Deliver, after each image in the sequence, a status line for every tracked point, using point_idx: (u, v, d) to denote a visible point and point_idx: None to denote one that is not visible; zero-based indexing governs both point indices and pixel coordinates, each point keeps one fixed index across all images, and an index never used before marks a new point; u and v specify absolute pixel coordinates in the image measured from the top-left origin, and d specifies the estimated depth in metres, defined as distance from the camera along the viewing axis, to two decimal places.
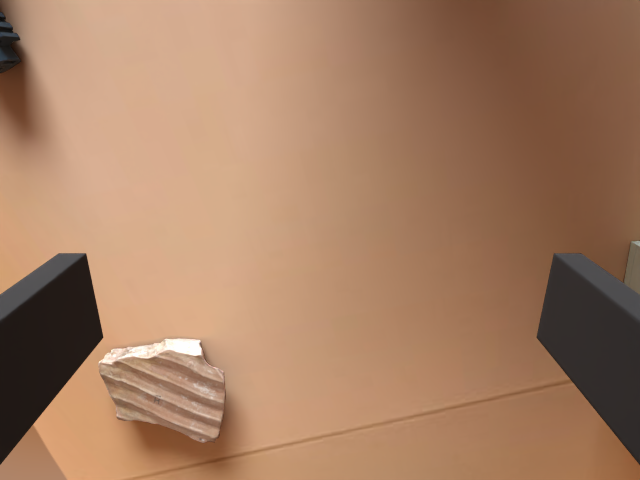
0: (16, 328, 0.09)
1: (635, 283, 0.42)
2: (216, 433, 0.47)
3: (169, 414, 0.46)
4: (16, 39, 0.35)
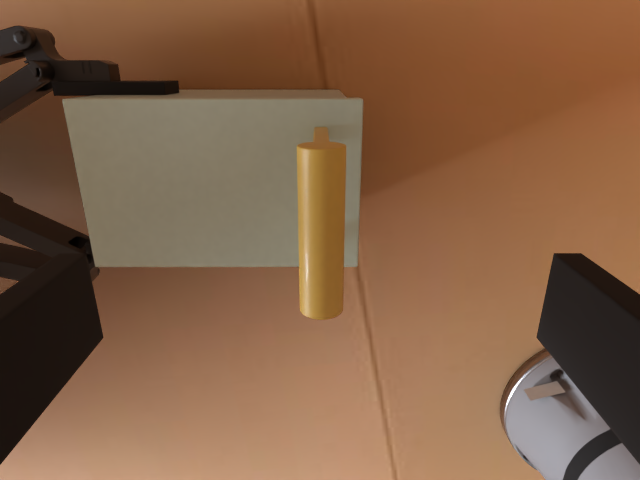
0: (16, 328, 0.09)
1: None
2: None
3: None
4: None
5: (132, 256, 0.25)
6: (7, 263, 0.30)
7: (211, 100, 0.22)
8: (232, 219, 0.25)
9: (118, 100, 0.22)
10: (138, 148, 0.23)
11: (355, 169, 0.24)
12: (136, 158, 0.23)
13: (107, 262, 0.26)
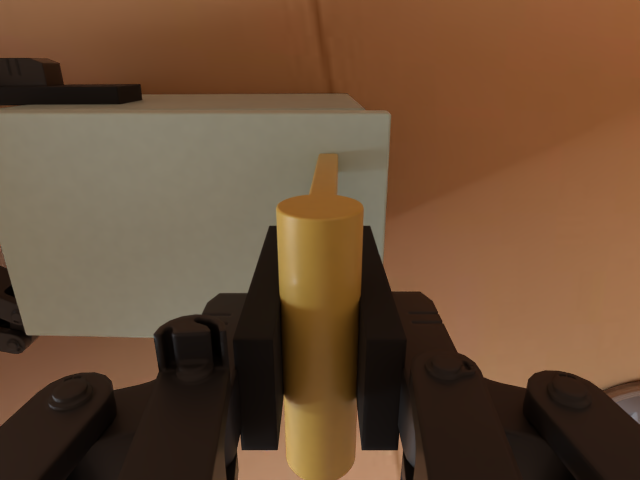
0: None
1: None
2: None
3: None
4: None
5: (74, 323, 0.19)
6: None
7: (170, 115, 0.16)
8: (206, 278, 0.18)
9: (40, 115, 0.16)
10: (71, 181, 0.17)
11: (378, 212, 0.16)
12: (70, 195, 0.17)
13: (41, 329, 0.19)
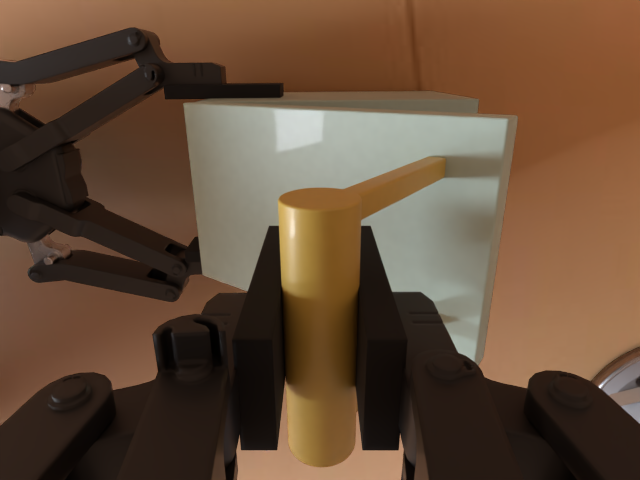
0: None
1: None
2: None
3: None
4: None
5: (229, 274, 0.23)
6: (102, 272, 0.29)
7: (306, 110, 0.18)
8: None
9: (224, 106, 0.20)
10: (237, 160, 0.21)
11: (485, 228, 0.15)
12: (235, 172, 0.21)
13: (210, 273, 0.24)
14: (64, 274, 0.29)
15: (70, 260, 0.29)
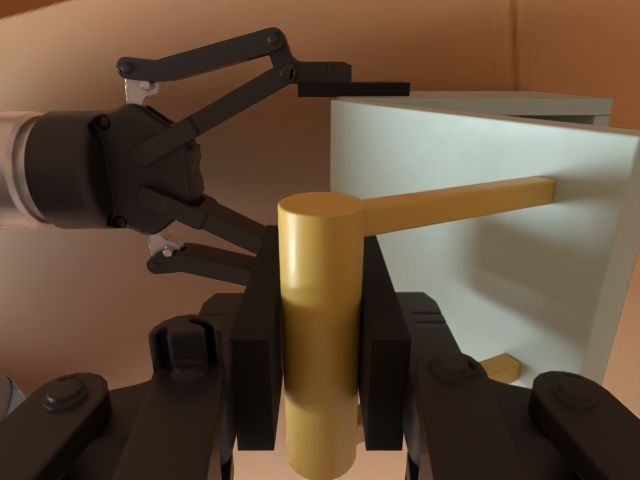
0: None
1: None
2: None
3: None
4: None
5: None
6: (219, 264, 0.30)
7: (423, 112, 0.16)
8: (420, 274, 0.18)
9: (359, 104, 0.20)
10: (364, 159, 0.21)
11: (593, 276, 0.11)
12: (361, 170, 0.21)
13: None
14: (181, 266, 0.30)
15: (186, 252, 0.30)
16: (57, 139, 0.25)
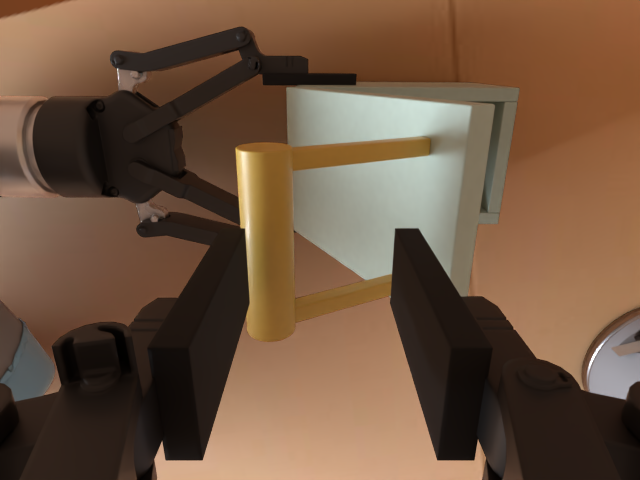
0: (226, 284, 0.11)
1: None
2: None
3: None
4: None
5: (303, 227, 0.29)
6: (198, 228, 0.35)
7: (351, 95, 0.22)
8: (354, 221, 0.23)
9: (307, 90, 0.25)
10: (312, 134, 0.26)
11: (453, 202, 0.17)
12: (310, 143, 0.26)
13: (293, 226, 0.30)
14: (166, 230, 0.35)
15: (170, 219, 0.35)
16: (60, 119, 0.30)
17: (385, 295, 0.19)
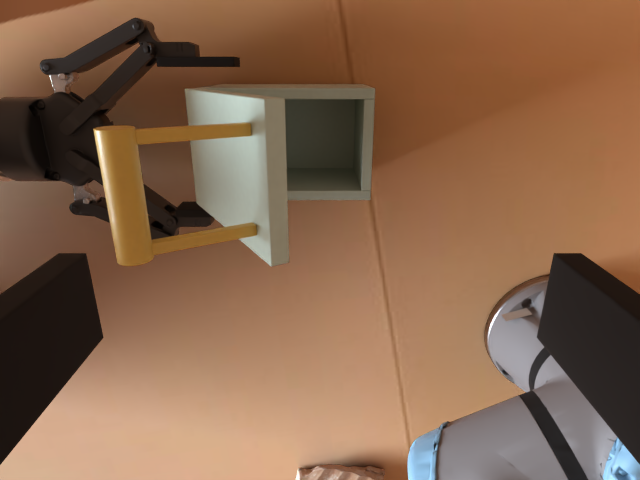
0: (16, 328, 0.09)
1: None
2: (371, 479, 0.61)
3: None
4: None
5: (203, 202, 0.36)
6: None
7: (215, 93, 0.29)
8: (226, 191, 0.30)
9: (195, 90, 0.32)
10: None
11: (264, 168, 0.24)
12: None
13: (198, 202, 0.37)
14: (95, 212, 0.42)
15: (100, 203, 0.42)
16: (7, 115, 0.37)
17: (229, 239, 0.26)
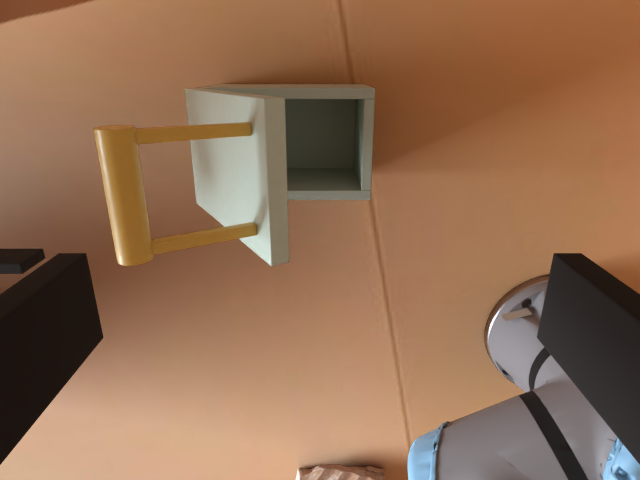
0: (16, 328, 0.09)
1: None
2: (371, 479, 0.61)
3: None
4: None
5: (203, 202, 0.36)
6: None
7: (215, 93, 0.29)
8: (226, 191, 0.30)
9: (195, 90, 0.32)
10: None
11: (264, 167, 0.24)
12: None
13: (198, 201, 0.37)
14: None
15: None
16: None
17: (229, 239, 0.26)
